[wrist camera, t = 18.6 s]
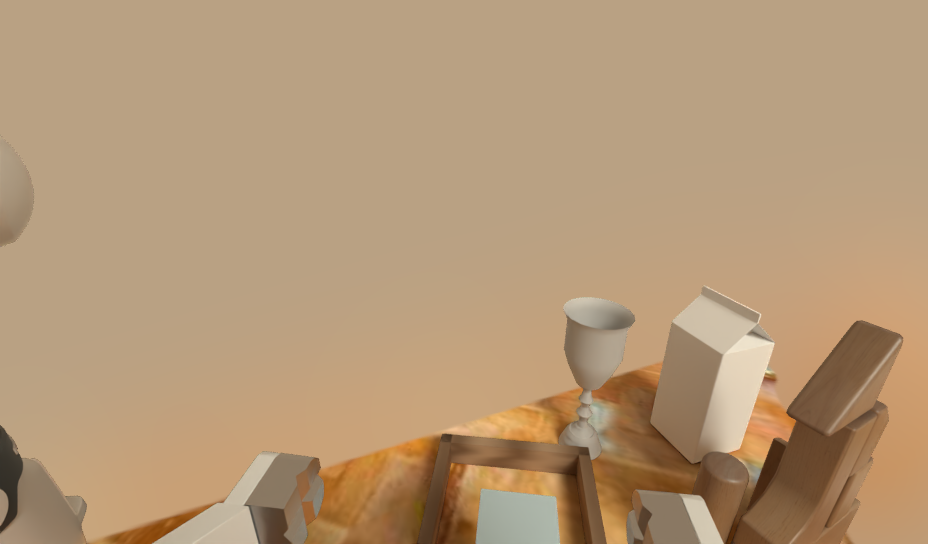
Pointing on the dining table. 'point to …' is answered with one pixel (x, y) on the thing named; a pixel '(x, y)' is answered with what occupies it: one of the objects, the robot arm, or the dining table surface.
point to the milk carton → (710, 375)
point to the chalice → (592, 358)
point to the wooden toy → (811, 452)
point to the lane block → (517, 518)
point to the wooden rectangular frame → (513, 457)
